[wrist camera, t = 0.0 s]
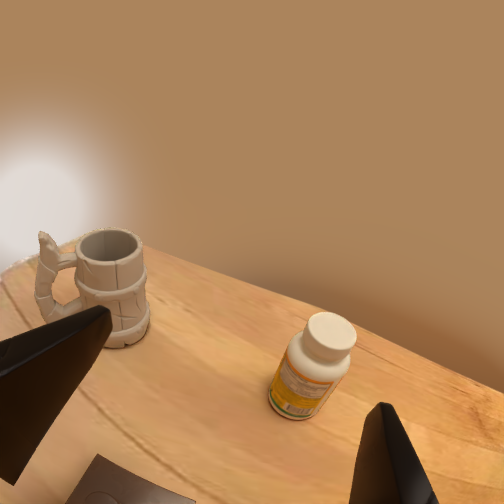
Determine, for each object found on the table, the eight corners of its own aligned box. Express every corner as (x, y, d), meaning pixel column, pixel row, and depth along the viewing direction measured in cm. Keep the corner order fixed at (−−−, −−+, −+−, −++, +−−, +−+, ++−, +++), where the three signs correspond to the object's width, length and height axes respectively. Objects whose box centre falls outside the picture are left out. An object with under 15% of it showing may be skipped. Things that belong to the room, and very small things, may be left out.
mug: (162, 338, 29) (165, 235, 23) (55, 369, 22) (19, 264, 16) (136, 294, 34) (136, 199, 28) (44, 316, 27) (21, 217, 21)
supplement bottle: (286, 430, 23) (328, 366, 18) (256, 386, 26) (284, 314, 22) (331, 407, 25) (377, 342, 21) (301, 369, 29) (335, 300, 24)
